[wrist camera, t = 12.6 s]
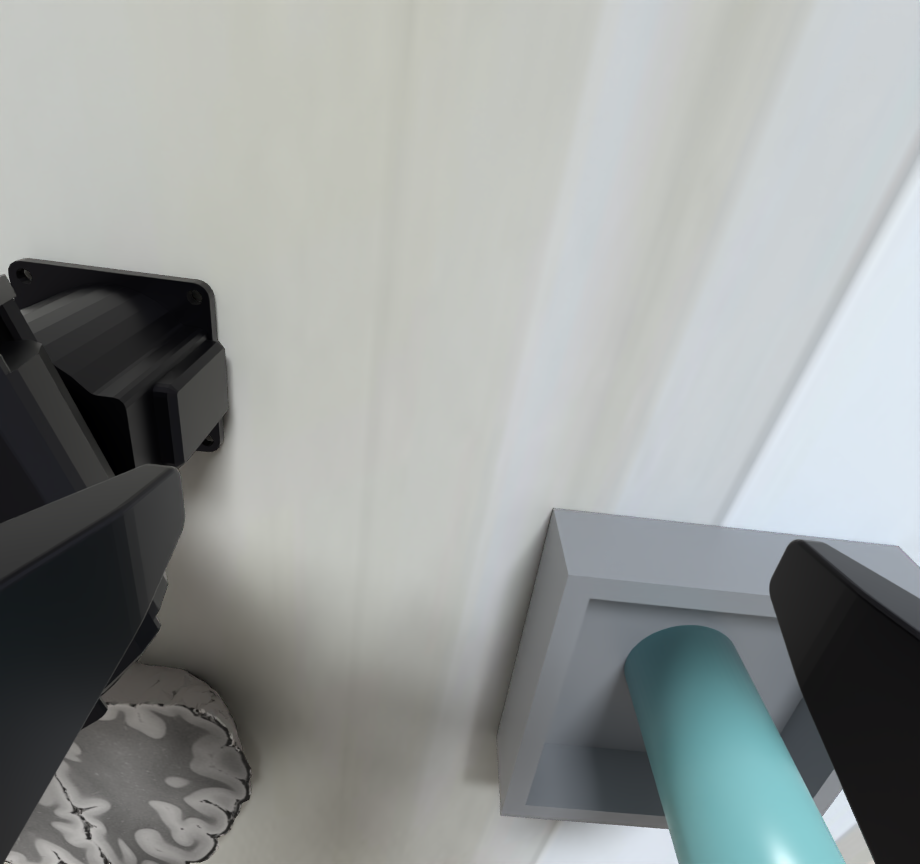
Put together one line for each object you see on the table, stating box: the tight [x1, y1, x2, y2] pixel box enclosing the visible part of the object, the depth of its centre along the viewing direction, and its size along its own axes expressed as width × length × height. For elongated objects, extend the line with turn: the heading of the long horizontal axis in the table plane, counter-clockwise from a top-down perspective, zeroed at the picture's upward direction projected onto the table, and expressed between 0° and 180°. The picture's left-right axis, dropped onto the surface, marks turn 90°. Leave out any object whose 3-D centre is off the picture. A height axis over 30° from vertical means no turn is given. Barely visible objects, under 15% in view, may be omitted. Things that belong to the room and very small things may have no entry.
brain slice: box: [5, 662, 252, 864], centre depth 31 cm, size 20×17×3 cm
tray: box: [497, 508, 920, 829], centre depth 27 cm, size 15×15×4 cm
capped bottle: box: [624, 625, 846, 864], centre depth 22 cm, size 5×5×13 cm
